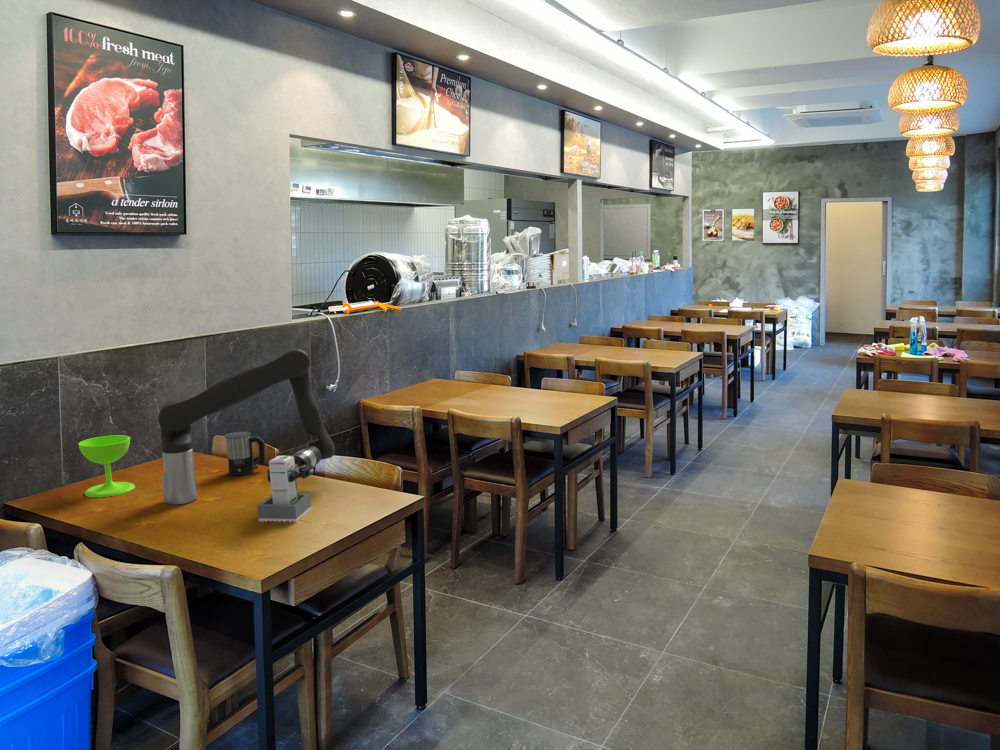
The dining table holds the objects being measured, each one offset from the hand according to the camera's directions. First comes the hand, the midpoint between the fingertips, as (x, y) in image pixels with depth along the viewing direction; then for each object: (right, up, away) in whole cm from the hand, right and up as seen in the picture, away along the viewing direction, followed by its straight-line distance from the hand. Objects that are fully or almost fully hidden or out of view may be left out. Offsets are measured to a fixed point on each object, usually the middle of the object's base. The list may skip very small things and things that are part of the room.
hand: (280, 478), depth 231 cm
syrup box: (+1, -8, +4) cm, 9 cm away
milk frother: (-29, -4, +57) cm, 64 cm away
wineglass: (-69, -9, +34) cm, 78 cm away
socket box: (+1, -12, +4) cm, 12 cm away
